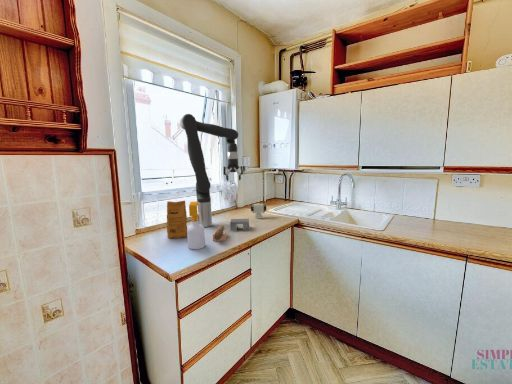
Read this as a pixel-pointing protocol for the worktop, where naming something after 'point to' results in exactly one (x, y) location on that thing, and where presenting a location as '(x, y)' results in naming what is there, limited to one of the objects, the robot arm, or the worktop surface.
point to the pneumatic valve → (258, 210)
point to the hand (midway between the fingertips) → (233, 180)
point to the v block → (221, 236)
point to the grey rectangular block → (239, 221)
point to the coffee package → (176, 219)
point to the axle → (219, 232)
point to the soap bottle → (195, 229)
